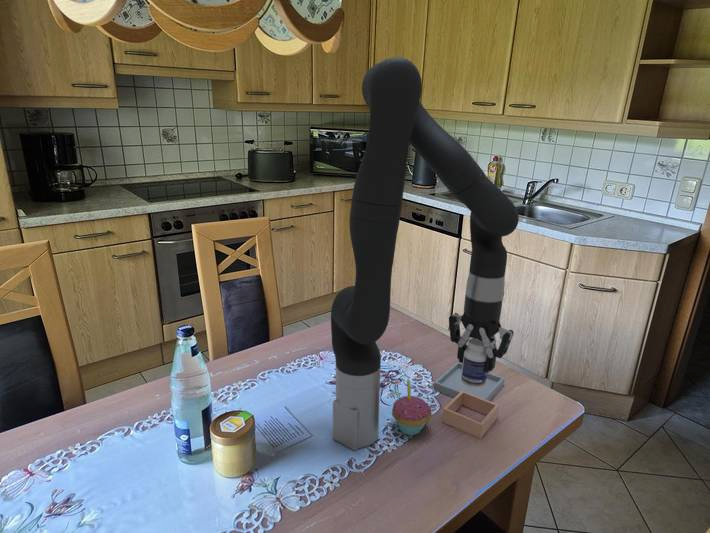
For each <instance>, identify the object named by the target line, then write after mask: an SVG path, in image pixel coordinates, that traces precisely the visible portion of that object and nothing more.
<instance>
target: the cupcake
mask: <svg viewBox="0 0 710 533" xmlns="http://www.w3.org/2000/svg"><path fill="white" fill-rule="evenodd" d="M406 386H407V395H405V396H404V395H403V396H402V397H400V398H398V399H396V400H395V401H394V402H393V403H392V409H391V410H392V411H391V413H392V414H391V415H392V417H393V418H394V419H395V421H396V423H397V424H398V425H397V426H398V428H399V431H400V432H401V433H403V434H404V435H408V436H414V435H418V434H419V433H420V432H421V431H422V428H423V426H424V424H426V423H427V422H428V421H430V420H431V418H432V408H431V406H430V405H429V403H428V402H426V401H425V400H424V399H423V398H421V397H419V396H414V395H412V394H411V380H410V379H409V376H407V380H406Z"/></svg>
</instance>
